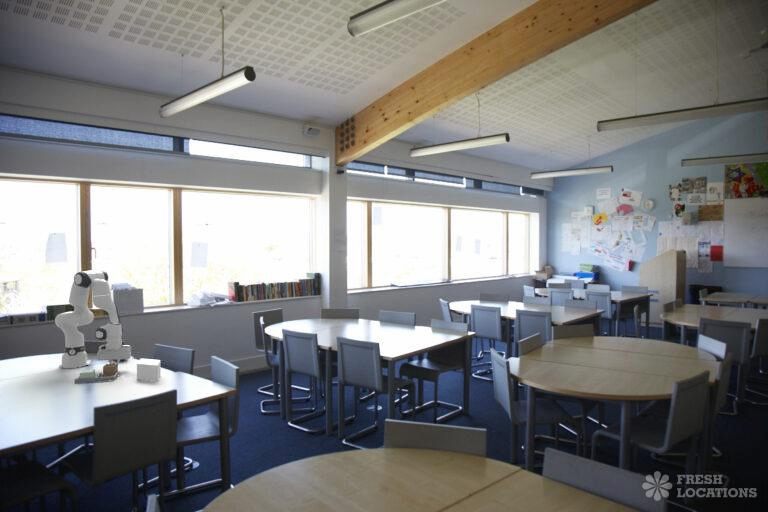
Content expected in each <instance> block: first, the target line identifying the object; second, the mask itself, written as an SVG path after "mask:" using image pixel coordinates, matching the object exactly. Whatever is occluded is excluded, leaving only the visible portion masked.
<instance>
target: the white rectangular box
mask: <svg viewBox="0 0 768 512" xmlns="http://www.w3.org/2000/svg"><path fill="white" fill-rule="evenodd" d="M159 376H160V377H161V360H160V359H152V358H151V359H150V358H143V357H142V358H140V359H139V360H138V361H137V363H136V380H137V379H141V380H140V381H146V380H152V381H151V382H156V381H158V382H159V380H158V379H160V377H159Z"/></svg>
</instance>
